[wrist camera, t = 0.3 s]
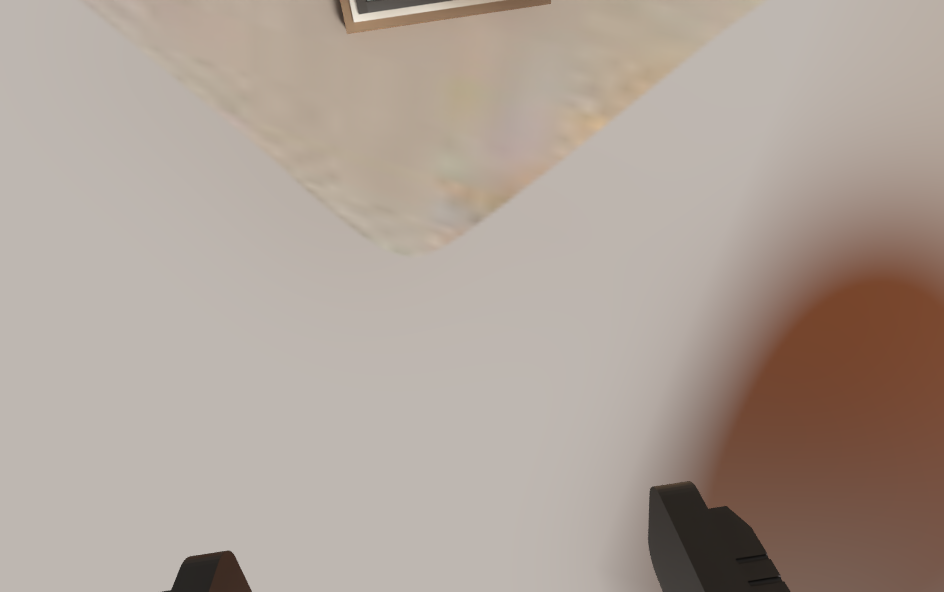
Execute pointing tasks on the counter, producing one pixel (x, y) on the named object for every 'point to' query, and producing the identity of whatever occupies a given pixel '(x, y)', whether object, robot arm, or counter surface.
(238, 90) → the counter surface
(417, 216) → the counter surface
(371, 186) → the counter surface
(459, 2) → the framed mirror
